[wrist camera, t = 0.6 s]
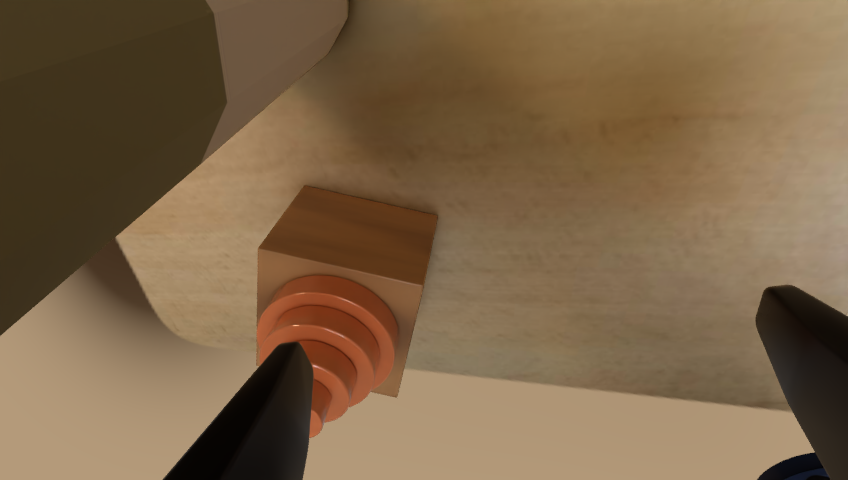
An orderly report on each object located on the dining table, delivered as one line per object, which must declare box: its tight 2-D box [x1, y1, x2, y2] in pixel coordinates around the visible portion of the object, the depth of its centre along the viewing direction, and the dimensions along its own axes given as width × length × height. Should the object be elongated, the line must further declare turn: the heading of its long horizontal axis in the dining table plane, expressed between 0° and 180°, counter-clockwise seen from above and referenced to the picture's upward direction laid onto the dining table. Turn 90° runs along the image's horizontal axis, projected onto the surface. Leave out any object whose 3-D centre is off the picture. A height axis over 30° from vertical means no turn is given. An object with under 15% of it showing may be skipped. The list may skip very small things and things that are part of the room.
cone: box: [257, 275, 399, 438], centre depth 21 cm, size 6×6×5 cm
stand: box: [256, 186, 438, 397], centre depth 25 cm, size 7×7×6 cm
